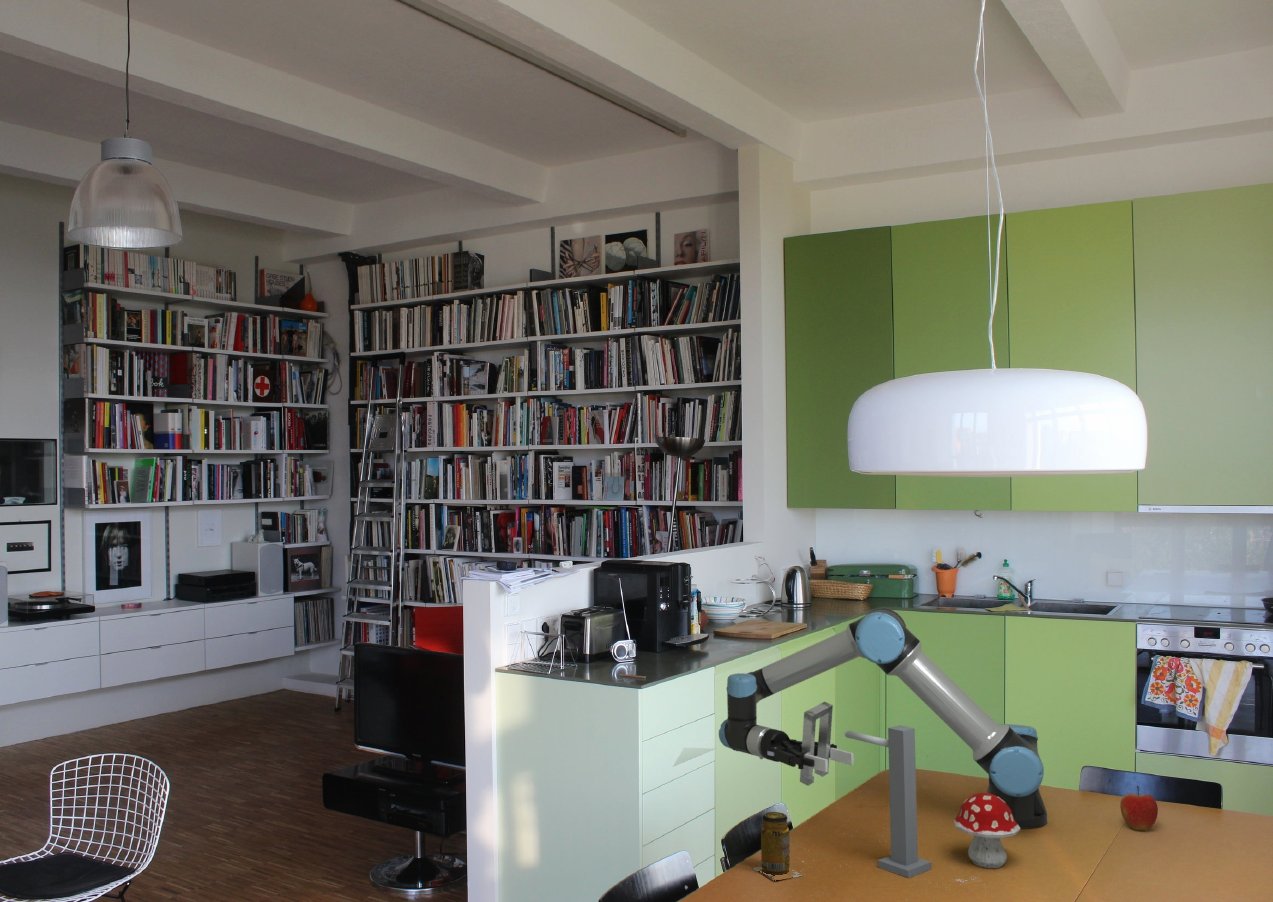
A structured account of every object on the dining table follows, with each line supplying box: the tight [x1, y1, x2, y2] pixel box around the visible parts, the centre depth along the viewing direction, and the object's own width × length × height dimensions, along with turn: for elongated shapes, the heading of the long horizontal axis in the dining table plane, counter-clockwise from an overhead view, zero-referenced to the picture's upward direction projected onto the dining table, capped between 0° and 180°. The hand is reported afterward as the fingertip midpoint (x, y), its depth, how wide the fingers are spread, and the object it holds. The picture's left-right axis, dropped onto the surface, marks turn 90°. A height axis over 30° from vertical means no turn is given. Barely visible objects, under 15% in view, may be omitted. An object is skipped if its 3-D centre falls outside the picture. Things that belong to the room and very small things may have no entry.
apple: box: [1119, 785, 1159, 832], centre depth 237 cm, size 8×8×10 cm
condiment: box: [752, 811, 803, 882], centre depth 212 cm, size 7×8×12 cm
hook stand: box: [844, 725, 932, 879], centre depth 219 cm, size 20×8×30 cm, turn 38°
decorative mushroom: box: [953, 792, 1021, 869], centre depth 216 cm, size 14×14×15 cm
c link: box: [799, 701, 834, 786], centre depth 233 cm, size 8×2×18 cm, turn 133°
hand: (839, 762), depth 228 cm, fingers closed on c link, 8 cm apart
